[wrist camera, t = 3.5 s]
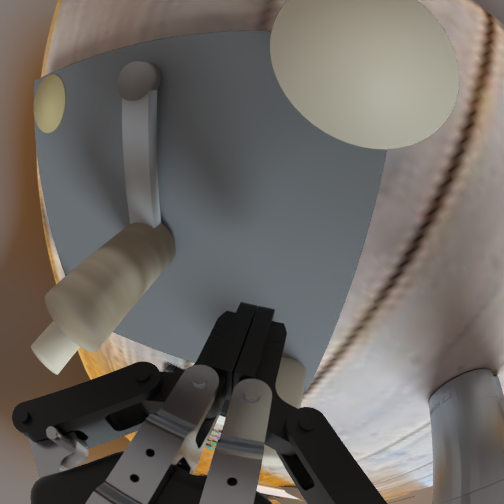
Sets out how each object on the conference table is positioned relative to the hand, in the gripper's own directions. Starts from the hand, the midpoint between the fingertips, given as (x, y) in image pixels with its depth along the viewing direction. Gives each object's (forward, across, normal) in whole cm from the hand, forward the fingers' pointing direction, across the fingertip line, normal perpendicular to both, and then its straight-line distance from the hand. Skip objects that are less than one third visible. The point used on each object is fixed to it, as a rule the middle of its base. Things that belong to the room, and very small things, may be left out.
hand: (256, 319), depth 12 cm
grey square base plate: (+8, +8, 0) cm, 11 cm away
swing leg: (+4, +8, -5) cm, 10 cm away
